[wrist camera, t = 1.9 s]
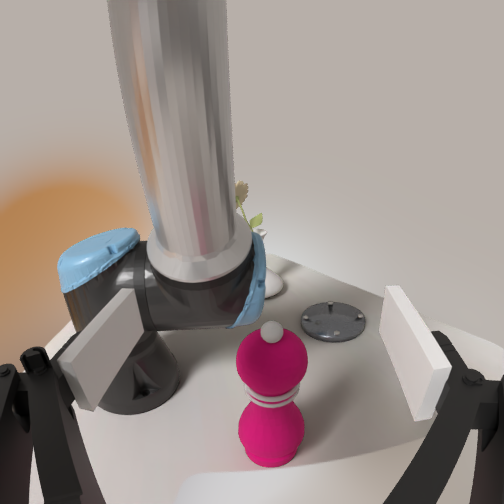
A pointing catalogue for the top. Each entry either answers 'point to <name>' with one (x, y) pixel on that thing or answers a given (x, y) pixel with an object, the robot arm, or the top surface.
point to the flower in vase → (272, 279)
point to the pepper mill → (271, 394)
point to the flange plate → (332, 322)
